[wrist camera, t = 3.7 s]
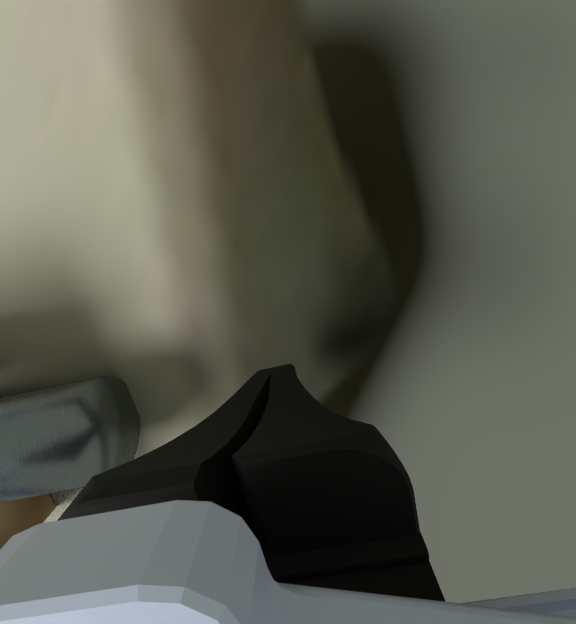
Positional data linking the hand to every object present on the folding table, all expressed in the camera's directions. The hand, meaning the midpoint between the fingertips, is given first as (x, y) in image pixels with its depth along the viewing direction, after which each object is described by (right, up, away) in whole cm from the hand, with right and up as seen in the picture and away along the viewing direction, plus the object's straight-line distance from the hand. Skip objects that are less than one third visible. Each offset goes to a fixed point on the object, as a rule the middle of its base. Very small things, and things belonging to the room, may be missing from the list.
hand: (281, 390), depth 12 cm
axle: (-13, -2, +3) cm, 13 cm away
